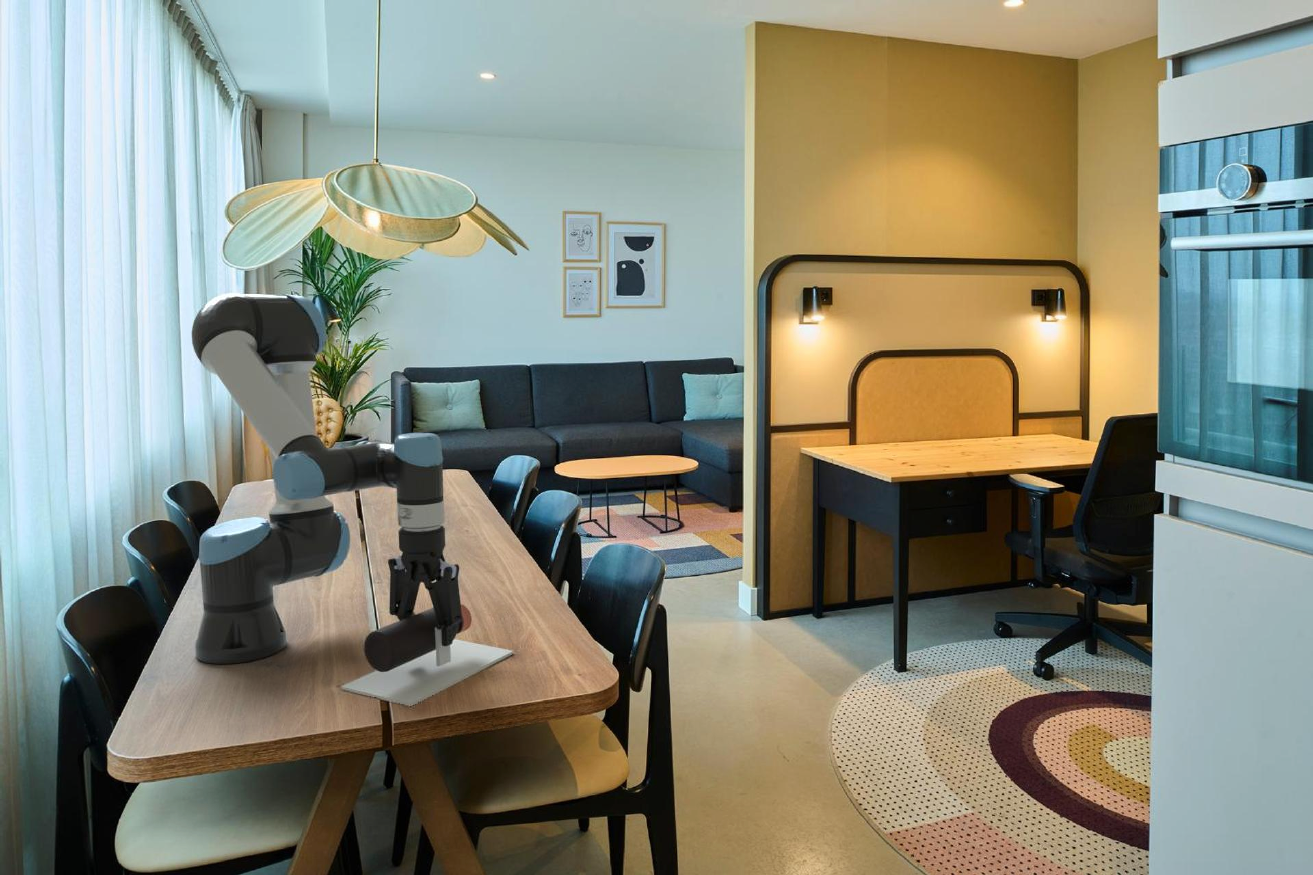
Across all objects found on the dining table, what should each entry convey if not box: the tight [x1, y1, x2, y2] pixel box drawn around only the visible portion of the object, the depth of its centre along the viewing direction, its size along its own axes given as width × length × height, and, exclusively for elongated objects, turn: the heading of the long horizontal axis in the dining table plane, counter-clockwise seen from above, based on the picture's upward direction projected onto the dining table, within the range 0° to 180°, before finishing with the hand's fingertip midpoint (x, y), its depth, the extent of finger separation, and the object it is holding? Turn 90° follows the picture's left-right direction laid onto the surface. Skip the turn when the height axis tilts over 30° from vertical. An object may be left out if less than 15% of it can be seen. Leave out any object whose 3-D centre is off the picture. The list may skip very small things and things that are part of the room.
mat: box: [340, 638, 514, 707], centre depth 158 cm, size 15×26×1 cm, turn 152°
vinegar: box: [363, 604, 473, 672], centre depth 155 cm, size 7×7×20 cm
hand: (427, 659), depth 156 cm, fingers closed on vinegar, 6 cm apart
